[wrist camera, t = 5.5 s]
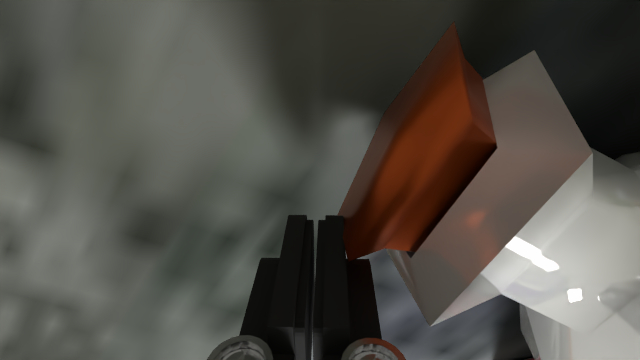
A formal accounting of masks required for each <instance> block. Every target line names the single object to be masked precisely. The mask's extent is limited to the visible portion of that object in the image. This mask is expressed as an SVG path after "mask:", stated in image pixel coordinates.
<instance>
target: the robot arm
mask: <svg viewBox="0 0 640 360" xmlns="http://www.w3.org/2000/svg"><path fill="white" fill-rule="evenodd" d="M343 232H344V219H343V216H335V215H326V220H319V221H318V239H317V257H316V275H315V274H314V224H313V220H307V216H306V215H289V216H288V220H287V225H286V230H285V235H284V240H283V245H282V250H281V255H280V258H261V260H260V262H259V266H258V269H257V273H256V277H255V280H254V284H253V288H252V291H251V295H250V298H249V302H248V306H247V309H246V313H245V317H244V320H243V324H242V328H241V331H240V335H239V336H237V337H233V338H230V339H228V340H226V341H224V342H222V343H221V344H220V345H219V346H218V347H216V348H215V349H214V350H213V351H212V353H211V354H210V356H209V357H208V359H207V360H311V350H312V332H313V359H314V360H406V359H405V357H404V355H403V354H402V353H401V352H400V351H399V350H398V349H397V348H396V347H395V346H393V345H392V344H390V343H389V342H387V341H384V340H382V337H381V331H380V324H379V318H378V311H377V305H376V298H375V291H374V285H373V278H372V272H371V265H370V261H369V259H354V260H351V261H349V262H348V259H346V253H345V245H344V241H343Z"/></svg>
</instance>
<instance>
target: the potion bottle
mask: <svg viewBox="0 0 640 360" xmlns="http://www.w3.org/2000/svg"><path fill="white" fill-rule="evenodd" d="M338 216H343V219H344V232H343V241H344V245H345V250H346V254H347V258H348V262H349V261H351V260H354V259H357V258H360V257H362V256H365V255H368V254H370V253H373V252H376V251H379V250H381V249H384V248H386V249H387V252H388V254H389V256H390V257H391V259H392V261H393V263H394V264H395V266H396V268H397V270H398V271H399V273H400V275H401V277H402V278H403V280H404V282H405V284H406V285H407V287H408V289H409V291H410V293H411V294H412V296H413V298H414V300H415V301H416V303H417V305H418V307H419V308H420V310H421V312H422V314H423V315H424V317H425V319H426V321H427V322H428V324H429V326H433V325H435V324H437V323H439V322H441V321H443V320H446V319H448V318H450V317H452V316H454V315H457V314H459V313H461V312H463V311H465V310H467V309H470V308H472V307H474V306H476V305H478V304H480V303H483V302H485V301H487V300H489V299H491V298H494V297H496V296H498V295H500V294H502V295H504V296H506V297H508V298H510V299H513V300H515V301H517V302H519V303H520V324H521V332H522V334H523V336H524V338H525V340H526V342H527V344H528V347H529V349H530V351H531V353H532V355H533V357H534V359H535V360H640V152H637V153H631V154H626V155H622V156H621V157H619V158H618V159H616V160H613V159H611V158H609V157H607V156H605V155H604V154H602V153H600V152H598V151H596V150H594V149H592V148H591V147H589V145H588V144H587V142H586V140H585V138H584V137H583V135H582V133H581V131H580V130H579V128H578V126H577V124H576V123H575V121H574V119H573V117H572V115H571V114H570V112H569V110H568V108H567V107H566V105H565V103H564V101H563V100H562V98H561V96H560V94H559V93H558V91H557V89H556V87H555V86H554V84H553V82H552V80H551V78H550V77H549V75H548V73H547V71H546V70H545V68H544V66H543V64H542V63H541V61H540V59H539V57H538V56H537V54H536V52H535V50H534V51H532V52H530V53H528V54H527V55H525V56H523V57H522V58H520V59H518V60H516V61H515V62H513V63H511V64H510V65H508V66H506V67H504V68H503V69H501V70H499V71H498V72H496V73H494V74H493V75H491V76H489V77H487V78H486V79H484V80H483V79H482V77H481V76H480V75H479V74H478V73H477V72H476V71H475V69H474V68H473V67H472V66H471V65H470V64H469V63H468V61H467V60H466V59H465V58H464V54H463V51H462V47H461V44H460V40H459V37H458V33H457V30H456V26H455V23H454V22H453V23H452V24H451V26H450V27H449V28H448V30H447V31H446V32H445V34H444V35H443V36H442V38H441V39H440V40H439V41H438V43H437V44H436V45H435V47H434V48H433V49H432V51H431V52H430V53H429V55H428V56H427V57H426V59H425V60H424V61H423V63H422V64H421V65H420V67H419V68H418V69H417V70H416V72H415V73H414V74H413V76H412V77H411V78H410V80H409V81H408V82H407V84H406V85H405V86H404V88H403V89H402V90H401V92H400V93H399V94H398V96H397V97H396V98H395V99H394V101H393V102H392V103H391V105H390V106H389V107H388V109H387V110H386V111H385V113H384V115H383V117H382V119H381V121H380V123H379V126H378V128H377V130H376V132H375V134H374V136H373V139H372V141H371V143H370V145H369V147H368V150H367V152H366V154H365V156H364V158H363V161H362V163H361V165H360V167H359V169H358V171H357V174H356V176H355V178H354V180H353V182H352V185H351V187H350V189H349V191H348V193H347V195H346V198H345V200H344V202H343V204H342V206H341V209H340V211H339V213H338Z"/></svg>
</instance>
